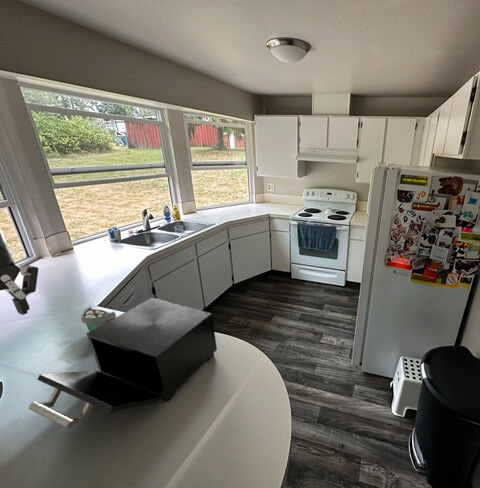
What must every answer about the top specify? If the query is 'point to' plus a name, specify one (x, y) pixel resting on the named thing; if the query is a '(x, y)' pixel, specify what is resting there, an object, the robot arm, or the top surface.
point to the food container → (95, 318)
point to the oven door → (90, 395)
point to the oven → (154, 345)
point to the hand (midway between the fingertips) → (8, 318)
